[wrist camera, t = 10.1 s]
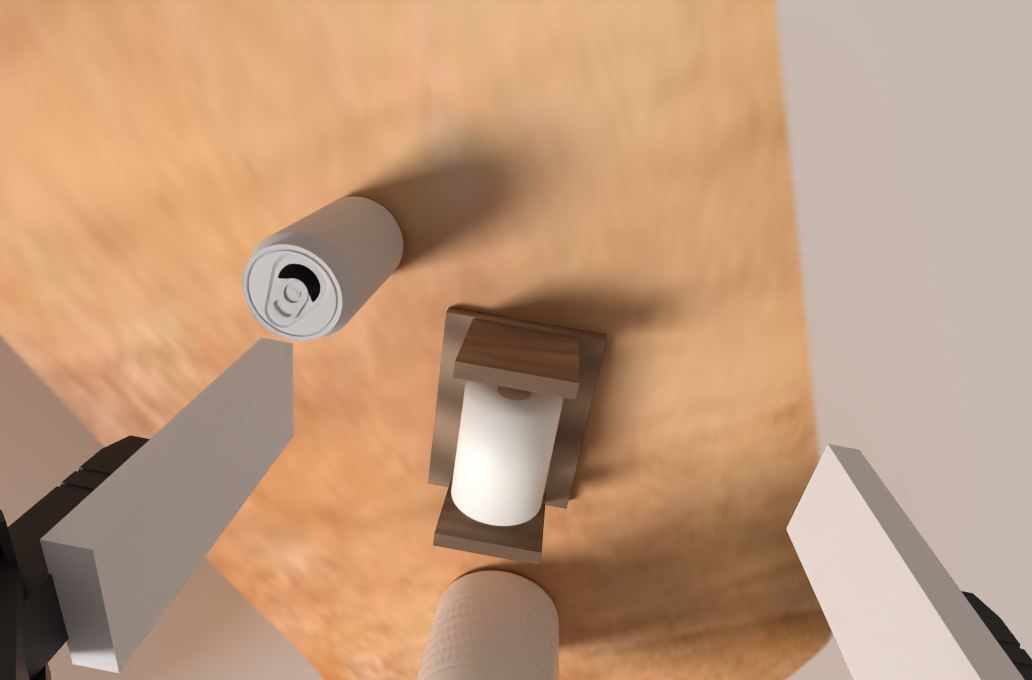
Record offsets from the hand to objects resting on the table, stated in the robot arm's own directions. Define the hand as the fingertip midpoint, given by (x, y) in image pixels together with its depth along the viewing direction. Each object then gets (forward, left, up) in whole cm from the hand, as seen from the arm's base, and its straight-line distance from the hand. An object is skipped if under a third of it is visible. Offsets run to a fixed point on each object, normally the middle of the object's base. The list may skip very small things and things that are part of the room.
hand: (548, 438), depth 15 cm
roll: (+17, -1, -28) cm, 33 cm away
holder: (+17, -1, -29) cm, 34 cm away
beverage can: (+5, -14, -29) cm, 33 cm away
